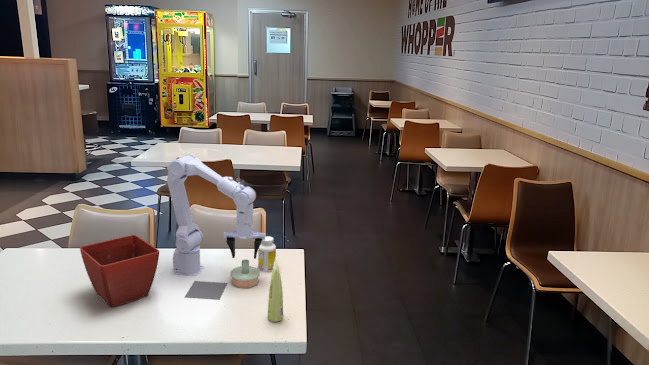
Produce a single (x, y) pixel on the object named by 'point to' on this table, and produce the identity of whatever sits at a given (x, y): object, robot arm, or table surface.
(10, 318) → the table surface
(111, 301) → the plant pot
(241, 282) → the bowl
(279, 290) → the tube
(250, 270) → the lid
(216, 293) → the mat
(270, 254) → the supplement bottle
